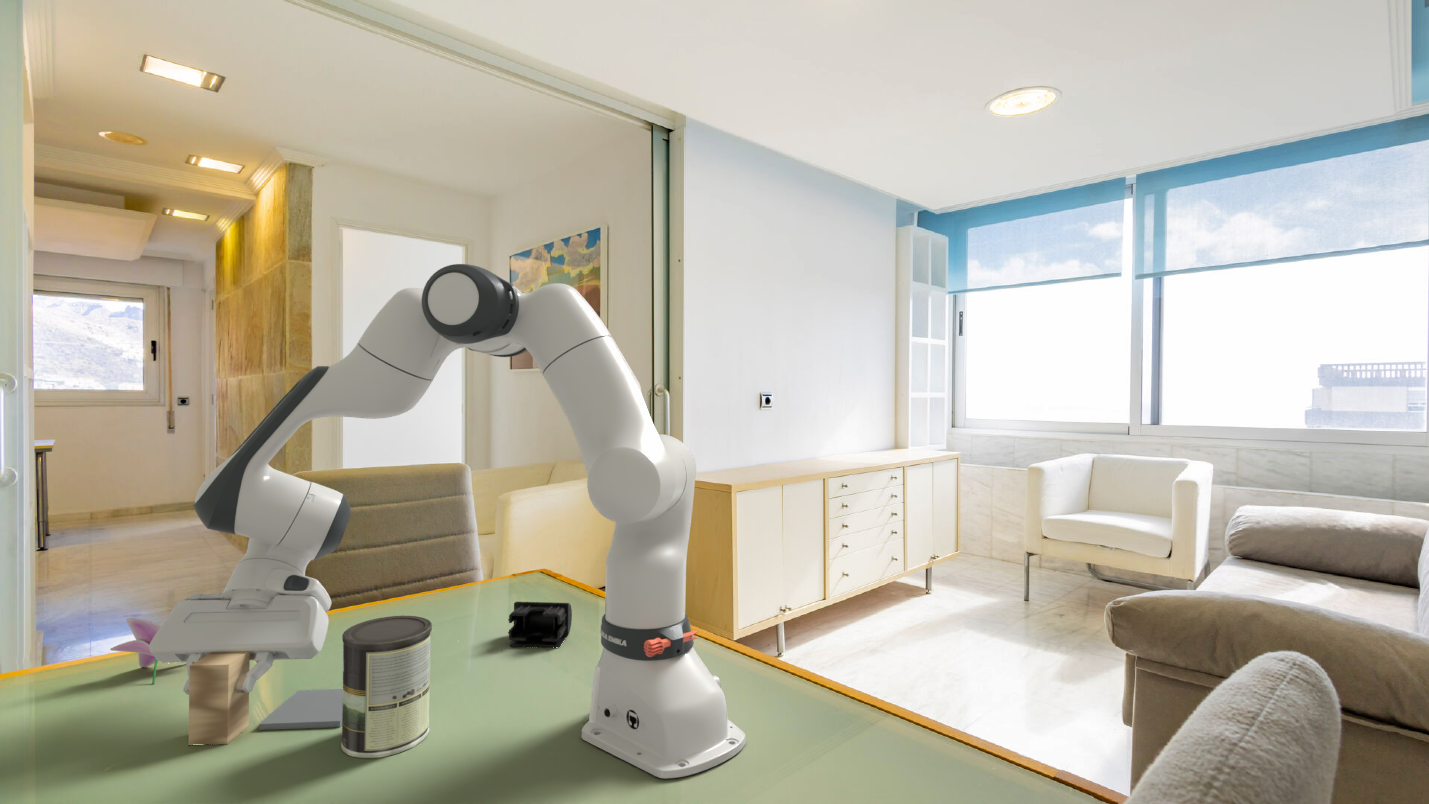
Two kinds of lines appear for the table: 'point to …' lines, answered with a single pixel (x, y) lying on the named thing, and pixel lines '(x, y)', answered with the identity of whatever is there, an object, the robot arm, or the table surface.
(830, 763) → the table surface
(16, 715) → the table surface
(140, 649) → the lily
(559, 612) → the end cap
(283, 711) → the slate coaster
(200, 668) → the oak block
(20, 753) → the table surface
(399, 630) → the coffee can
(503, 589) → the table surface
